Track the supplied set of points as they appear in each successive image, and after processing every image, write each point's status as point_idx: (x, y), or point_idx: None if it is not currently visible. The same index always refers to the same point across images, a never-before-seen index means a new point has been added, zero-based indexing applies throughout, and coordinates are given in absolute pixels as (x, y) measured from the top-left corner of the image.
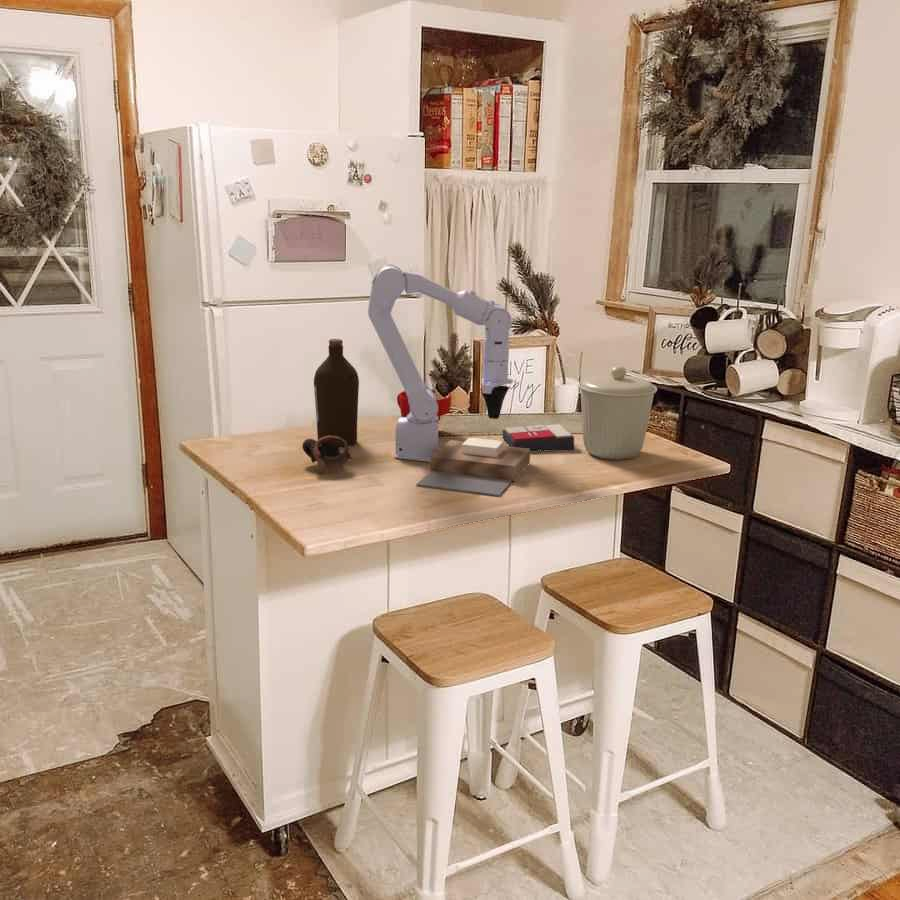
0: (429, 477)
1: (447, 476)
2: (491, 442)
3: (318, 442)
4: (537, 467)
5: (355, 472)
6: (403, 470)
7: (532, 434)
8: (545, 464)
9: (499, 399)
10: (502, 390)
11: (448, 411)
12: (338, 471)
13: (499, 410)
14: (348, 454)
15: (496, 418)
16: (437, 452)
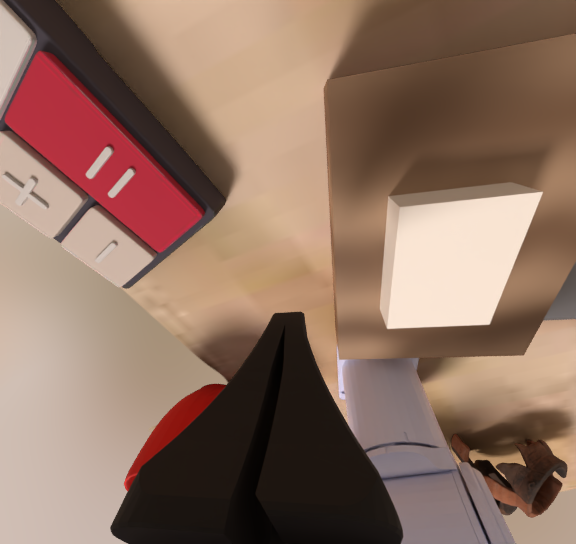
0: (569, 309)
1: None
2: (438, 246)
3: (545, 509)
4: (360, 25)
5: (515, 413)
6: (490, 364)
7: (111, 173)
8: (302, 5)
9: (346, 423)
10: (303, 529)
11: (186, 425)
12: (511, 429)
13: (298, 340)
14: (532, 458)
15: (303, 316)
16: (477, 352)
